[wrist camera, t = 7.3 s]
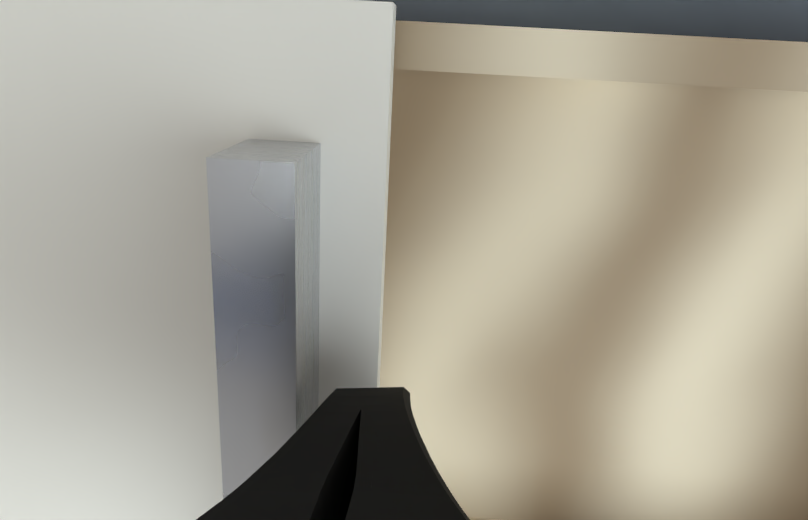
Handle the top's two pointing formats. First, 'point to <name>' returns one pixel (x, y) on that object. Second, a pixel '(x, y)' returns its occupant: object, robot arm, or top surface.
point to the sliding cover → (183, 241)
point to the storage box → (601, 270)
